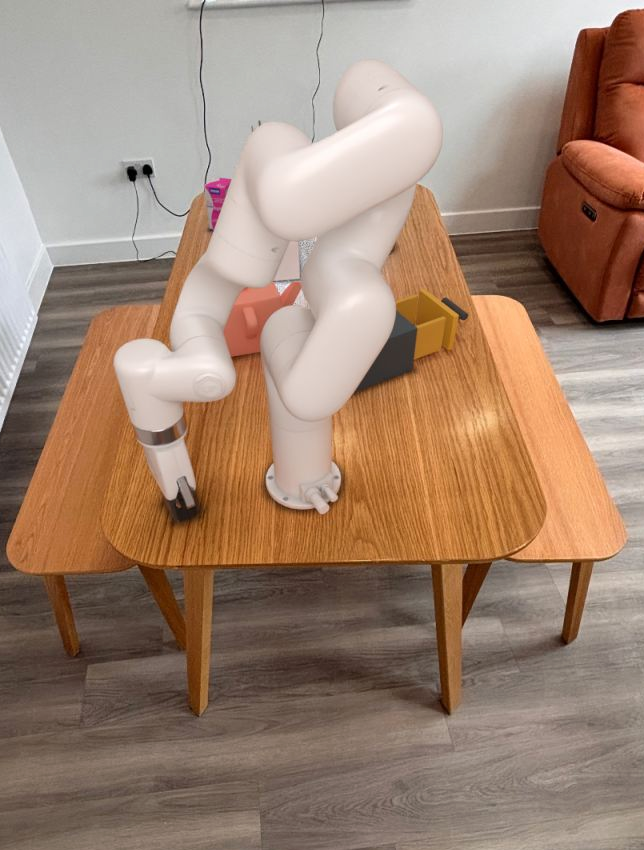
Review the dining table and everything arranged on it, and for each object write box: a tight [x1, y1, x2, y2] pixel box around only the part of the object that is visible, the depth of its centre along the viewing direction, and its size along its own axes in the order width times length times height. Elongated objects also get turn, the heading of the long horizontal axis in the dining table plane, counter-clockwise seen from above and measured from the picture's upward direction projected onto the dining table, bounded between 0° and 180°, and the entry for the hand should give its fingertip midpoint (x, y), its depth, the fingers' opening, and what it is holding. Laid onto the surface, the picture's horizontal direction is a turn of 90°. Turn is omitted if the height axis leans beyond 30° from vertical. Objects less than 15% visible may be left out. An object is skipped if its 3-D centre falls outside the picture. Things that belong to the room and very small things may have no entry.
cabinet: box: [354, 310, 418, 393], centre depth 124 cm, size 15×13×10 cm
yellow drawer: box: [395, 287, 469, 361], centre depth 128 cm, size 18×11×8 cm, turn 119°
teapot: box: [224, 281, 302, 357], centre depth 130 cm, size 20×22×14 cm
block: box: [160, 490, 201, 522], centre depth 103 cm, size 4×4×4 cm
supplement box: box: [203, 176, 232, 232], centre depth 164 cm, size 6×6×12 cm
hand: (182, 506), depth 104 cm, fingers closed on block, 4 cm apart
